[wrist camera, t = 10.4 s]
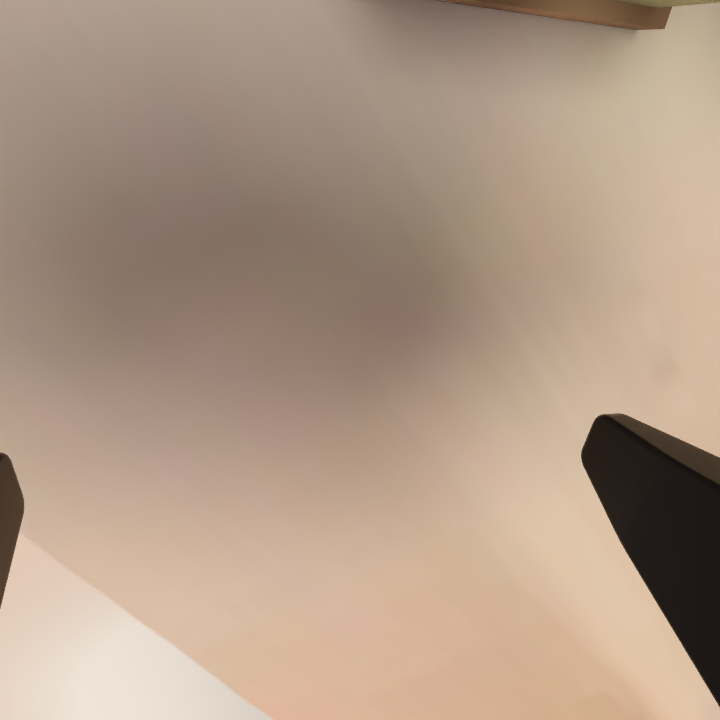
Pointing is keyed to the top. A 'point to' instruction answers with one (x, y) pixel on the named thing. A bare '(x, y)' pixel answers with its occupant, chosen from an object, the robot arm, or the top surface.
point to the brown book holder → (594, 10)
